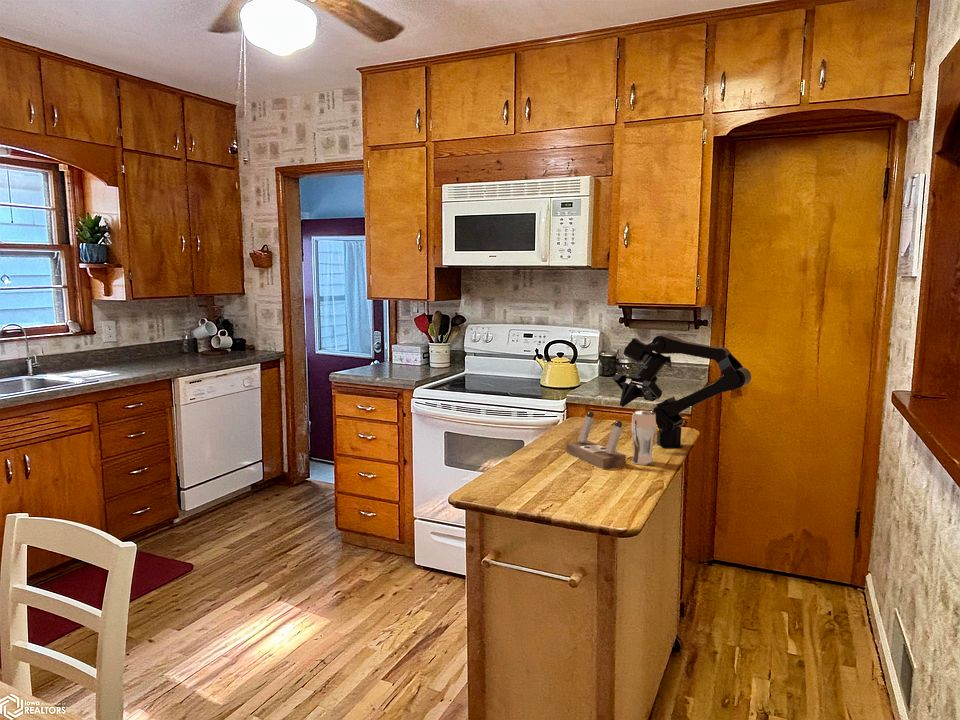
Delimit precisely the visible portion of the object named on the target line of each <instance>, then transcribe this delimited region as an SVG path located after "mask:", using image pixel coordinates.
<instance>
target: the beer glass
mask: <svg viewBox="0 0 960 720" xmlns="http://www.w3.org/2000/svg"><path fill="white" fill-rule="evenodd" d="M656 434H657V423H656V413H655V412H653V410H652V411H651V410H644V409H643V410H641V409H640V410H634V411H632V417H631V436H632V437H631V438H632V445H633V455H632V459H631V462H632V463H633V464H634V463H635V465H638V464H641V465H640V466H648V465H647V464H651V465H653V464H654V458H653V449H654V448H653V447H654V443H655V438H656ZM652 463H653V464H652Z"/></svg>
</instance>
